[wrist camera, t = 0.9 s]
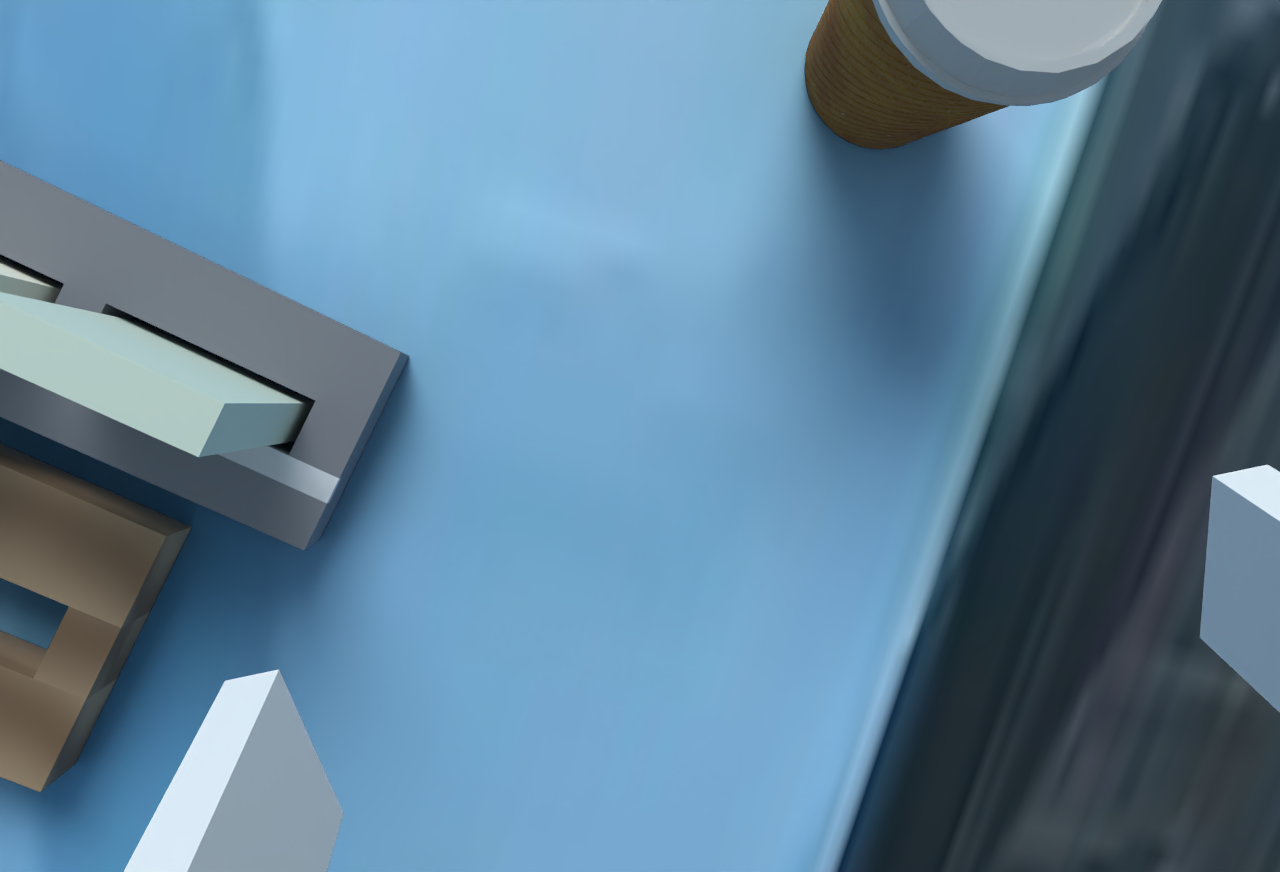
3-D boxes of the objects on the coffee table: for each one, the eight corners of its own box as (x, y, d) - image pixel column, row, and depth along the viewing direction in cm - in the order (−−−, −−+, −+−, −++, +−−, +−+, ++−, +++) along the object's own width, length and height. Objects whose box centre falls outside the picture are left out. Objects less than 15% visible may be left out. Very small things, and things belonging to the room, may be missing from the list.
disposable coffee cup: (934, 225, 38) (1122, 144, 26) (730, 130, 37) (830, -1, 25) (1018, 17, 38) (1243, -157, 26) (818, -85, 37) (959, -316, 25)
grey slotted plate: (319, 540, 35) (304, 550, 33) (-230, 296, 32) (-292, 288, 30) (409, 355, 35) (400, 352, 33) (-129, 98, 33) (-183, 73, 30)
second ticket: (298, 440, 35) (198, 457, 24) (124, 360, 34) (-63, 340, 23) (317, 403, 35) (225, 403, 24) (143, 322, 34) (-35, 284, 23)
